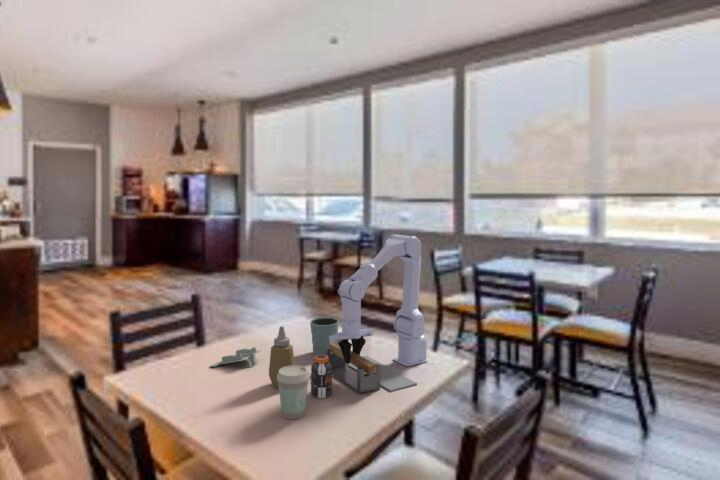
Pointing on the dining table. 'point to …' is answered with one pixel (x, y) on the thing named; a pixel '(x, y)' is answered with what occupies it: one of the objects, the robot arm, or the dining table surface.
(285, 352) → the squeeze bottle
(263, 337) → the dining table surface
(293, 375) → the coffee cup
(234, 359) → the metal bracket
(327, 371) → the pill bottle
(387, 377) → the grey mat
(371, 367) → the walnut bar
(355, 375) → the dark grey cradle
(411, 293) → the robot arm
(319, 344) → the teal tumbler
